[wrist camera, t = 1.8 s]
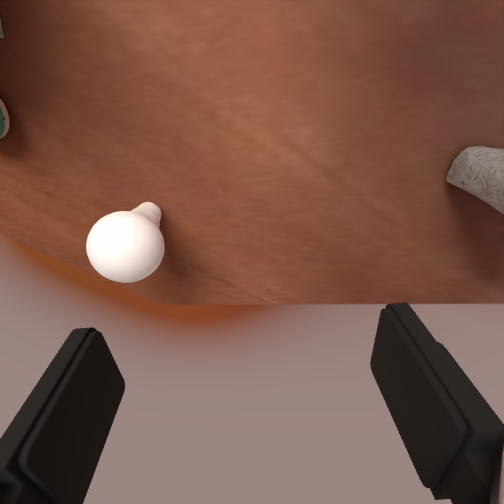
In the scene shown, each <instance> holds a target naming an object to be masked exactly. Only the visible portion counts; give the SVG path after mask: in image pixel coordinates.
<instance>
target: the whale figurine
mask: <svg viewBox="0 0 504 504" xmlns="http://www.w3.org/2000/svg"><path fill="white" fill-rule="evenodd" d="M9 125H10V121H9V115H8V112H7V109H6V107H5V105H4V103H3V101H2V100H1V99H0V138H2V137H4V136H5V135H6V134H7V132H8V130H9Z"/></svg>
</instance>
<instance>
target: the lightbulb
mask: <svg viewBox="0 0 504 504" xmlns="http://www.w3.org/2000/svg"><path fill="white" fill-rule="evenodd" d="M160 219H161V210H160V209H159V207H158V206H157V205H155V204H154V203H151V202H144V203H142V204H140V205H139V206H138V207H137V208H135V209H133V210H131V211H119V212H114V213H111V214H109V215H106V216H104V217H103V218H101V219H100V220H99V221H98V222H97V223H96V224H95V225H94V226H93V227H92V229H91V231H90V233H89V235H88V239H87V244H86V249H87V255H88V258H89V260H90V262H91V264H92V266H93V267H94V268H95V270H96V271H98V272H99V273H100V274H101V275H102V276H104V277H105V278H108V279H110V280H113V281H116V282H122V283H129V282H135V281H139V280H142V279H144V278H146V277H147V276H149V275H151V274H152V273H153V272H154V271H155V270H156V269H157V268H158V266H159V265H160V263H161V261H162V258H163V255H164V239H163V236H162V233H161V232H160V230H159V226H160Z"/></svg>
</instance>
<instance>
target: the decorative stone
mask: <svg viewBox="0 0 504 504" xmlns="http://www.w3.org/2000/svg"><path fill="white" fill-rule="evenodd" d="M446 180H447V182H449V183H451V184H453V185H455V186H457V187H459V188H461V189H463V190H465V191H467V192H469V193H471V194H473V195H475V196H476V197H478V198H480V199H481V200H483V201H484V202H486V203H488V204H489V205H491V206H492V207H493V208H495V209H496V210H498V211H499V212H501V213H502V214H504V149H500V148H490V147H485V146H473V147H469V148H466V149H464V150H463V151H462V152H461V153H460V154H459V155H458V156H457V157H456V158H455V160H454V161H453V163H452V165H451V168H450V170H449V171H448V173H447V178H446Z"/></svg>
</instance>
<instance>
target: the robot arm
mask: <svg viewBox="0 0 504 504" xmlns="http://www.w3.org/2000/svg"><path fill="white" fill-rule="evenodd" d="M370 364H371V370H372V373H373V375H374V378H375V380H376V382H377V384H378V387H379V389H380V391H381V393H382V395H383V398H384V400H385V402H386V404H387V407H388V409H389V411H390V413H391V416H392V418H393V420H394V422H395V425H396V427H397V429H398V431H399V434H400V436H401V438H402V440H403V442H404V444H405V447H406V449H407V451H408V454H409V456H410V458H411V460H412V463H413V465H414V467H415V469H416V471H417V474H418V476H419V478H420V480H421V482H422V484H423V485H424V486H425V487H426V488H430V490H431V492H432V494H433V496H434V498H435V500H441V499H451V502H452V504H504V424H503V423H502V422H501V420H500V419H499V418H498V416H497V415H496V414H495V412H494V411H493V410H492V408H491V407H490V406H489V404H488V403H487V402H486V400H485V399H484V398H483V397H482V395H481V394H480V393H479V391H478V390H477V389H476V387H475V386H474V385H473V383H472V382H471V381H470V380H469V378H468V377H467V375H466V374H465V373H464V371H463V370H462V369H461V368H460V366H459V365H458V364H457V362H456V361H455V360H454V358H453V357H452V356H451V354H450V353H449V352H448V351H447V349H446V348H445V347H444V346H443V345H442V344H441V343H439V342H436V340H435V339H434V338H433V336H432V335H431V334H430V332H429V331H428V330H427V328H426V327H425V325H424V324H423V323H422V322H421V320H420V319H419V318H418V316H417V315H416V313H415V312H414V311H413V309H412V308H411V307H410V305H409V304H408V303H394V304H387V305H386V308H385V309H382V310H381V313H380V318H379V323H378V327H377V333H376V337H375V343H374V347H373V352H372V357H371V363H370ZM124 390H125V382H124V379H123V377H122V375H121V373H120V371H119V369H118V366H117V364H116V362H115V360H114V358H113V356H112V354H111V352H110V350H109V348H108V346H107V343H106V342H105V339H104V337H103V335H102V333H101V332H99V331H98V332H97V330H96V329H95V328H80V329H74V330H73V331H72V332H71V333H70V335H69V336H68V338H67V339H66V341H65V342H64V344H63V345H62V347H61V348H60V350H59V351H58V353H57V354H56V356H55V357H54V359H53V360H52V362H51V363H50V365H49V366H48V368H47V369H46V371H45V372H44V374H43V375H42V377H41V378H40V380H39V381H38V383H37V385H36V386H35V388H34V389H33V390H32V392H31V394H30V395H29V397H28V398H27V400H26V401H25V403H24V404H23V406H22V407H21V409H20V410H19V412H18V413H17V415H16V416H15V418H14V419H13V421H12V422H11V424H10V425H9V427H8V428H7V430H6V431H5V433H4V434H3V436H2V437H1V439H0V504H83V502H84V499H85V496H86V494H87V491H88V489H89V486H90V483H91V480H92V478H93V475H94V472H95V470H96V467H97V464H98V461H99V459H100V456H101V453H102V451H103V448H104V445H105V442H106V440H107V437H108V434H109V431H110V429H111V426H112V423H113V420H114V418H115V415H116V413H117V410H118V407H119V404H120V402H121V399H122V396H123V393H124Z"/></svg>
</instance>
